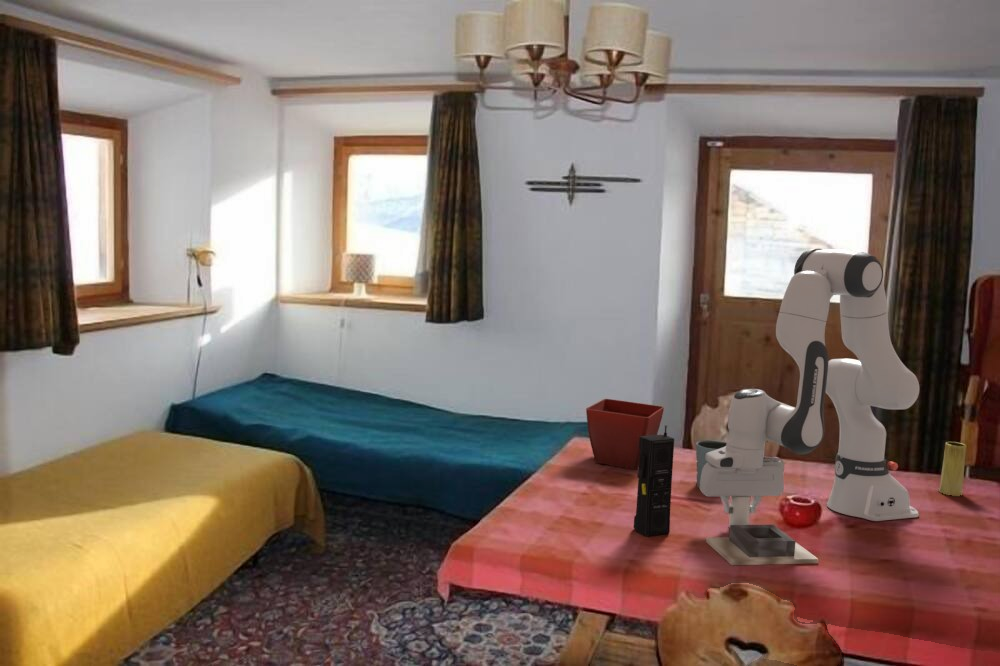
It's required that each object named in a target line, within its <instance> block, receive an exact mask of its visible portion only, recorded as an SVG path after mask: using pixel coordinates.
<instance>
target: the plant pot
mask: <svg viewBox="0 0 1000 666" xmlns="http://www.w3.org/2000/svg"><path fill="white" fill-rule="evenodd" d="M664 409H665V407H664V406H663V405H662V406H660V405H655V404H654V405H653V404H647V403H639V402H633V401H632V402H631V401H625V400H620V399H619V400H618V399H611V398H604V399H601V400H599V401H598V402H596V403H594V404H592V405H590V406H587V407H586V409H585V411H586V412H585V413H586V421H587V423H586V424H587V430H588V436H589V437H588V438H589V442H590V447H591V451H592V455H593V458H594V461H595V463H597V464H601V465H607V466H613V467H617V468H618V467H620V468H624V469H631V470H638V468H639V459H640V448H639V437H640V436H650V435H658V433H659V429H660V426H661V422H662V420H663V415H664V411H665V410H664Z"/></svg>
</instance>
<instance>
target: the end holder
mask: <svg viewBox="0 0 1000 666" xmlns="http://www.w3.org/2000/svg"><path fill="white" fill-rule="evenodd" d="M728 536H729V537H728ZM728 536H726V537H723V536H721V537H706V538H705V542H706V543H707V544H708V546H710V547H711V548H712V549H714V551H716V552H717V553H718V554H719V556H721V557H722V558H723V559H724V560H725V561H727V562H728V564H730V565H731V566H755V565H757V566H759V565H760V566H761V565H797V564H798V565H799V564H800V565H801V564H802V565H803V564H804V565H805V564H806V565H807V564H808V565H809V564H819V558H818V557H816V556H815V555H814V554H812V553H811V552H810V551H808V550H807V549H806V548H805V547H803V546H801V545H800V544H799V543H797V541H796V540H795V539H793V538H792V537H791V536H789V535H788V534H787V533H786V532H784V531H783V530H781V529H780V528H778V527H777V526H776V525H774V524H749V525H730V528H729V534H728Z"/></svg>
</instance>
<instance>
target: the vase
mask: <svg viewBox="0 0 1000 666" xmlns="http://www.w3.org/2000/svg"><path fill="white" fill-rule="evenodd" d="M943 451H944V452H943V460H942V466H941V467H942V469H941V474H940V481H939V483H940V484H939V488H938V492H939V493H940V494H942V493H943V494H942V495H945V494H946V496H949V495H952V496H951V497H961V496H963V488H964V486H963V485H964V476H965V474H964V473H965V464H966V463H965V462H966V454H967V445H966V444H965V443H962V442H957V441H946V442H945V444H944V450H943ZM960 495H961V496H960Z"/></svg>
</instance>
